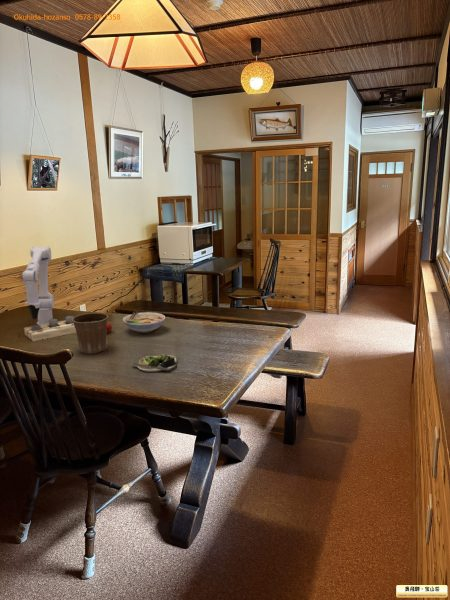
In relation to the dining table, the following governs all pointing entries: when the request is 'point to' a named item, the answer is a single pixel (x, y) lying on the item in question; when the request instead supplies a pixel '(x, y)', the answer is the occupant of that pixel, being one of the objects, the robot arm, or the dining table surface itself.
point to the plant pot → (91, 332)
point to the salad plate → (156, 363)
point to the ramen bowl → (144, 321)
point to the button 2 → (53, 323)
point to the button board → (50, 331)
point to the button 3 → (69, 320)
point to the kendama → (108, 327)
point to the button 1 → (36, 327)
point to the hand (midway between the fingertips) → (35, 318)
